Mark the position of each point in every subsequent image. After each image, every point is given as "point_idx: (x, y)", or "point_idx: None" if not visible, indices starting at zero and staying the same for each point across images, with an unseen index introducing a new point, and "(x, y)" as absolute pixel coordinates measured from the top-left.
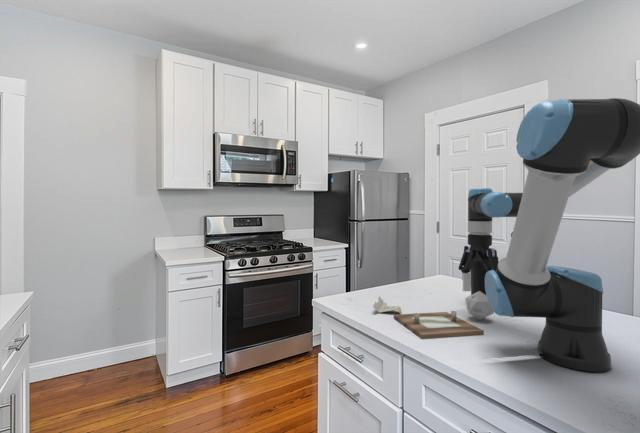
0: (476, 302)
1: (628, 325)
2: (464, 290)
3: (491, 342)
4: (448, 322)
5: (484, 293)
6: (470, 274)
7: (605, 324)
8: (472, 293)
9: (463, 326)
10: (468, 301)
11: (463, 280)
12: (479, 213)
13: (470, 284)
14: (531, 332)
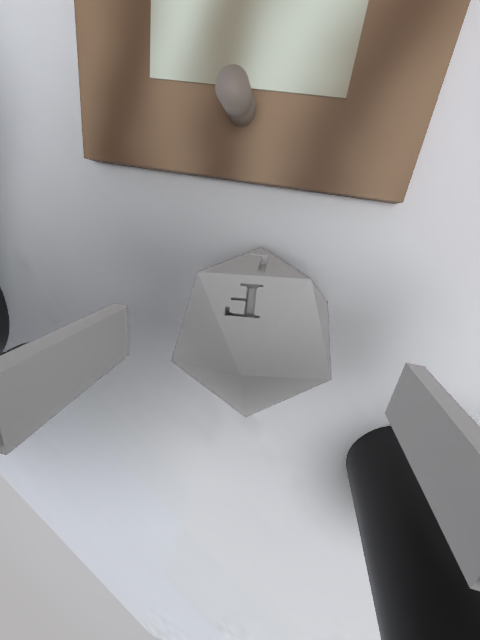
0: (200, 271)
1: (111, 584)
2: (407, 371)
3: (15, 117)
4: (223, 43)
5: (387, 508)
6: (461, 561)
7: (125, 561)
8: None
9: (149, 94)
10: (271, 269)
11: (469, 428)
12: None
13: (405, 452)
14: None
